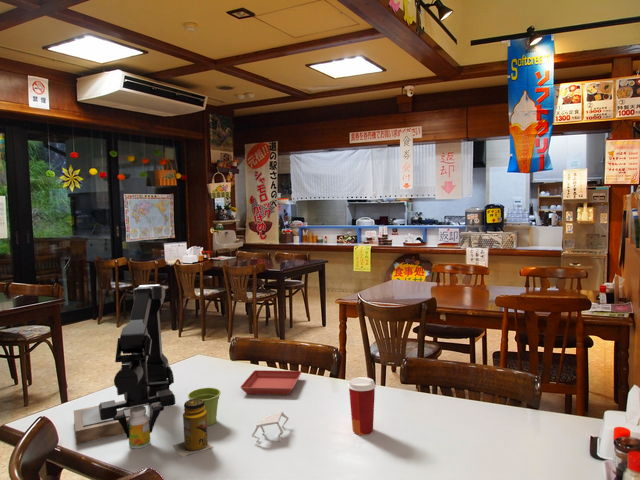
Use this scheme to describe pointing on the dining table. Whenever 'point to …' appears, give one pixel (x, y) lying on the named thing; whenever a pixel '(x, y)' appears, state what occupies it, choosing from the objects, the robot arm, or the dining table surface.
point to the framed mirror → (96, 425)
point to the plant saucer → (271, 382)
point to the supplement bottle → (138, 428)
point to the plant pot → (207, 401)
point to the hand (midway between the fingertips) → (139, 434)
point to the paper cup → (362, 404)
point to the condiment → (194, 428)
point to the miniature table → (269, 421)
